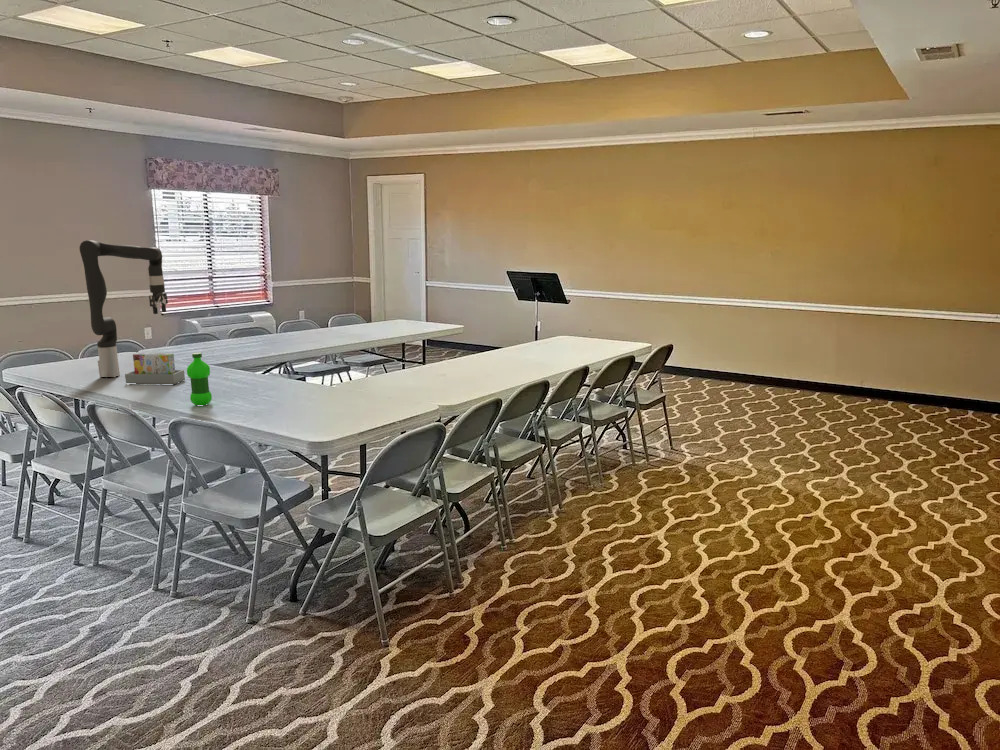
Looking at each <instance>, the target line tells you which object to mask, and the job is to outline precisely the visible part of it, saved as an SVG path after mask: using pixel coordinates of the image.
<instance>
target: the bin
mask: <svg viewBox="0 0 1000 750" xmlns="http://www.w3.org/2000/svg"><path fill="white" fill-rule="evenodd" d="M185 377H186V376H185V369H175V373H174V374H135V370H132V371H129V372H127V373H125V374H124V378H125V384H126V383H136V384H176V383H178V382H180V381H182V380H185V379H186V378H185ZM185 381H186V380H185ZM180 383H181V382H180ZM178 384H179V383H178ZM176 385H177V384H176Z"/></svg>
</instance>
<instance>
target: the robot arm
mask: <svg viewBox="0 0 1000 750" xmlns="http://www.w3.org/2000/svg"><path fill="white" fill-rule="evenodd" d="M79 252H80V257H81V260H82V264H83V267H84V275H85V284H86V292H87V295H88V302H89V303H88V304H89V310H90V326H91V331H92V332H93V333H94V334H95V335H96V336H102V337H101V339H99V340H98V341H97V343H96V344H97V355H98V360H97V366H98V373H99V378H101V377H114V378H117V377H116V376H118V377H120V376H119V375H121V374H120V365H119V359H118V358H119V357H118V356H119V355H118V350H117V349H118V348H117V341H118V335H117V334H118V333H117V323H116V321H115V320H114V319H113V318H112V317H109V316H105V317H104V315H103V308H104V304H105V301H106V299H107V285H106V281H105V278H104V275H103V273H102V270H101V268H100V265H99V257H105V256H106V257H118V258H122V259H123V258H124V259H133V260H145V261H148V262H149V263H148V264H149V265H148V267H147V271H148V282H149V283H148V285H149V292H150V293H151V294H152V295H149V296H148V298H149V299H148V300H149V307H151V308H152V312H153V315H157V314H159V311H158V305H159V304H160V305H161V307H160V308H161V312H162V313H166V312H167V308H166V307H167V305H168V303H169V301H168V294H167V293H166V289H165V279H164V275H163V274H164V273H163V267H162V266H163V254H162V251H161V249H160V248H159V247H155V246H154V247H153V246H152V247H147V246H146V247H144V246H143V247H142V246H138V245H129V244H112V243H111V244H110V243H104V242H101V241H96V240H93V239H89V240H88V239H87V240H83V241H82V242H81V243H80V245H79Z"/></svg>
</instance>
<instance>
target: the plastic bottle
mask: <svg viewBox="0 0 1000 750" xmlns="http://www.w3.org/2000/svg"><path fill="white" fill-rule="evenodd" d="M191 354H192V356H191V357H192V358H193V361H192V362H191V363H190V364H188V366H187V369H186V375H187V377H188V378H190V385H191V386H190V387H191V393H190V397H189V399H190V402H191V403H192V404H193V405H194V406H196V405H206V404H208V405H209V404H210V403H211V401H212V399H213V396H212V393H211V390H210V386H209V385H210V384H209V376H210V374H211V370H210V369H211V367H210V365H209V364H207V363H206V362H205V361H203V360H202V358H203V354H202V352H194V353H193V352H192V353H191ZM206 406H207V405H206Z"/></svg>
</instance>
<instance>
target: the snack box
mask: <svg viewBox="0 0 1000 750" xmlns="http://www.w3.org/2000/svg"><path fill="white" fill-rule="evenodd" d="M132 361H133V369H134V370H133V371H135V374H174V373H175V370H176V366H175V365H176V364H175V354H174V353H171V352H170V353H166V352H165V353H164V352H162V353H161V352H136V353H133V354H132Z"/></svg>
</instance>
